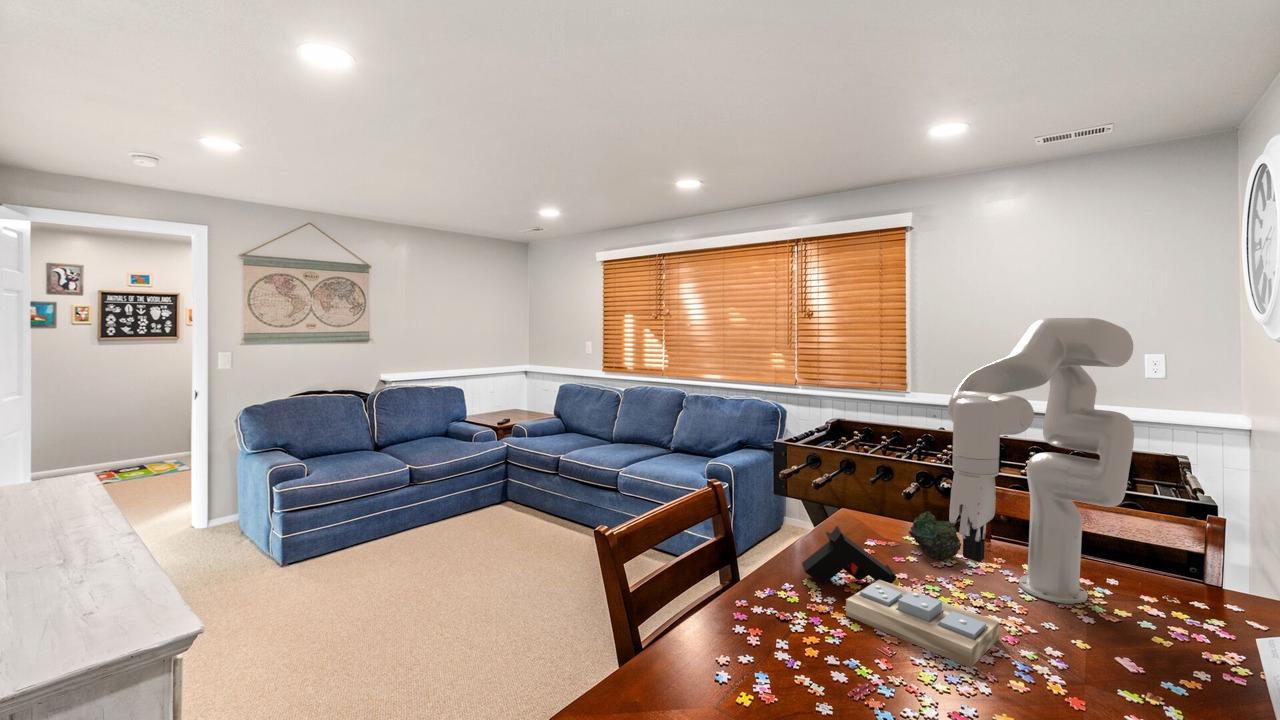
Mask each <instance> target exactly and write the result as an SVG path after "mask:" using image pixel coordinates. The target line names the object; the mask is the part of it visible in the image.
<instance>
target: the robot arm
mask: <svg viewBox="0 0 1280 720" xmlns="http://www.w3.org/2000/svg"><path fill="white" fill-rule="evenodd" d="M1133 353H1134V340H1133V337H1132V336H1131V334H1130V333H1129V331H1128V330H1127V329H1125V328H1124V327H1122V326H1120V325H1118V324H1115V323H1112V322H1110V321H1107V320H1104V319H1099V318H1094V317H1051V318H1050V317H1047V318H1042V319H1038V320H1037V321H1035V322H1033V323H1032V324H1031V325H1030V326H1029V327H1028V329H1027V330H1026V331H1025V332H1024V334H1023V335H1022V337H1021V338H1020V340H1018V341H1017V343H1016V345H1015V346H1014V347H1013V349H1012V350H1011V352H1010V353H1009V355H1007V356H1006V357H1003V358H1001V359H998V360H995V361H993V362H991V363H989V364H986V365H984V366H981V367H980V368H978V369H976V370H973V371H972V372H970V373H969V374H968V375H966V377H965V378H963V380H962V381H961V383H960V384H959V385H958V386H957V388H956V389H955V390H954V391H953V393H952V394H951V397H950V399H949V401H948V404H947V414H948V417H949V420H950V421H951V422H952V423H953V426H952V427H953V429H952V432H953V433H952V471H953V472H954V473H953V477H952V478H953V479H952V484H951V489H950V502H949V503H950V504H949V516H948V517H949V521H950V522H951V523H952V524H957V523H959V522H960V523H959V525H960V526H959V530H958V531H959V532H958V533H959V535H961V536H962V557H963V558H964V559H968V560H970V561H972V562H973V561H974V562H977V563H981V562H982V561H984V560H985V549H986V547H985V543H986V542H985V541H986V540H985V538H986V534H987V533H986V531H987V529H986V528H987V523H988V522H990V521H992V520H993V518H994V517H995V514H996V496H997V495H996V494H997V493H996V477H998V476H999V474H1000V473H999V472H1000V444H1001V443H1000V442H1001V441H1000V436H1009V435H1010V436H1012V435H1013V436H1014V435H1020V434H1021V433H1022V434H1023V433H1025V431H1027V430H1028V429H1029V428H1030V427H1031V426H1032V425H1033V424H1032V423H1033V421H1034V417H1035V411H1034V408H1033V406H1032V404H1031V402H1030V401H1028V400H1027V399H1026V398H1024V397H1021V396H1019V395H1013V394H1008V393H1013V392H1021V391H1026V390H1030V389H1034V388H1039V387H1041V386H1043V385H1045V384H1047V383H1048V382H1049V391H1048V398H1047V403H1046V407H1045V408H1046V409H1045V414H1044V418H1043V419H1044V420H1043V426H1042V434H1043V439H1044V441H1045V442H1046V443H1047V444H1049V445H1050V446H1053V447H1056V448H1062V449H1066V450H1067V449H1068V450H1073V451H1080V452H1084V453H1085V452H1086V453H1092V454H1097V455H1099V459H1094V458H1088V457H1082V456H1077V455H1071V454H1065V453H1059V452H1051V451H1050V452H1047V451H1045V452H1039V453H1036V454H1034V455H1033V456H1031V457H1030V459H1029V460H1028V462H1027V466H1026V477H1027V484H1028V489H1029V490H1028V491H1029V499H1030V505H1029V506H1030V507H1029V512H1030V513H1029V530H1028V552H1027V553H1028V556H1027V557H1028V558H1027V574H1025V575H1022V576H1021V577H1019V579H1018V584H1019V587H1020V588H1021V589H1022V590H1023V591H1025V592H1026V593H1028V594H1029V595H1032V596H1034V597H1036V598H1039V599H1042V600H1045V601H1049V602H1053V603H1058V604H1065V605H1075V604H1074V603H1080V604H1082V603H1081V602H1083V603H1085V602H1087V601H1088V599H1087V598H1088V596H1089V595H1088V592H1087V591H1086V590H1085V589H1084V588H1083V587H1082V586H1080V577H1081V576H1080V575H1081V557H1082V556H1081V554H1082V538H1083V537H1082V536H1083V518H1082V516H1081V513H1080V511H1079V509H1078V508H1077V505H1076V504H1075V503H1074V501H1076V502H1081V503H1085V504H1089V505H1095V506H1099V507H1106V508H1113V507H1118V506H1119V505H1120V504H1121V503H1122V502H1123V500H1124V498H1125V496H1126V491H1127V486H1128V481H1129V473H1130V468H1131V462H1132V458H1133V457H1132V456H1133V448H1134V443H1135V429H1134V425H1133V424H1134V423H1133V422H1132V420H1131V419H1130V418H1129V417H1128V416H1127V415H1126V414H1124V413H1122V412H1118V411H1115V410H1113V411H1112V410H1103V409H1097V408H1096V409H1095V404H1096V396H1097V392H1098V391H1097V389H1098V388H1097V385H1096V383H1095V382H1094V380H1093V378H1092V377H1091V376H1090V374H1088V372H1087V371H1086V370H1085V368H1083V366H1084V367H1101V368H1103V367H1104V368H1118V367H1121V366H1124V365H1125V364H1127V363H1128V362H1129V360H1131V358H1132V355H1133ZM1006 393H1007V394H1006ZM1086 600H1087V601H1086Z"/></svg>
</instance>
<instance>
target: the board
mask: <svg viewBox="0 0 1280 720" xmlns="http://www.w3.org/2000/svg"><path fill="white" fill-rule="evenodd" d="M874 583H875V584H878V585H881V586H884V587H887V588H889V589H892V590H895V591H898V592H901V593H902V597H903V596H905V595H906V594H908V593H909V592H910V591H911V590H910V589H907V588H905V587H903V586H899V585H898V586H896V585H894V584H890V583H888V582H885V581H882V580H878V581H876V580H875V581H874V582H872V583H871V584H869V585H868V586H866V587H865V588H863V589H861V590H860V591H858V592H856V593H854V594H853V595H851V596H849V597H847V598H846V599H845V601H846V602H845V616H846V617H849V618H851V619H854V620H856V621H859V622H860V623H862V624H865V625H867V626H869V627H872V628H874V629H877V630H880V631H882V632H884V633H887V634H889V635H891V636H894V637H896V638H899V639H901V640H903V641H906V642H907V643H910V644H913V645H915V646H917V647H920V648H922V649H924V648H925V650H927V651H929V652H932V653H934V654H936V655H939V656H942V657H944V658H946V659H947V660H951V661H953V662H955V663H957V664H960V665H963V666H965V667H967V668H970V669H972V667H973V666H974V665H975V664H976V663H977V662H978V661H979V660H980V659H981V658H982V657H983V656H984V655H985V654H986V653H987V652H988V651H989V649H991V648H992V647H993V646H994V645H995V644H996V642H998V641H999V640H1000V621H999V620H996V619H992V618H990V617H987V616H985V615H981V614H979V613H975V612H972V611H970V610H967V609H964V608H961V607H958V606H956V605H952V604H950V603H947V602H944V601H942V613H941V614H940V615H939V616H938V617H936V618H935V619H934V620H933V621H931V622H930V623H929V622H927V621H924V620H922V619H919V618H916V617H914V616H911V615H909V614H906V613H903V612H901V611H898V601H897V602H896V603H894V604H893V605H892V606H890V607H888V606H885V605H883V604H880V603H877V602H875V601H872V600H870V599H867V598H864V597H862V596H861V591H863V590H864V589H866V588H868V587H869V586H871V585H873V584H874ZM952 611H954V612H957V613H959V614H962V615H965V616H968V617H970V618H973V619H976V620H979V621H982V622H984V623H986V631H984V632H983V633H982V634H981V635H980V636H979V637H978V638H977V639H976V640H974V639H971V638H968V637H966V636H963V635H961V634H958V633H955V632H953V631H950V630H948V629H945V628H942V627H940V621H941V620H942V619H943V618H945V617H946V616H947V615H948V614H949V613H951V612H952Z"/></svg>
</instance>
